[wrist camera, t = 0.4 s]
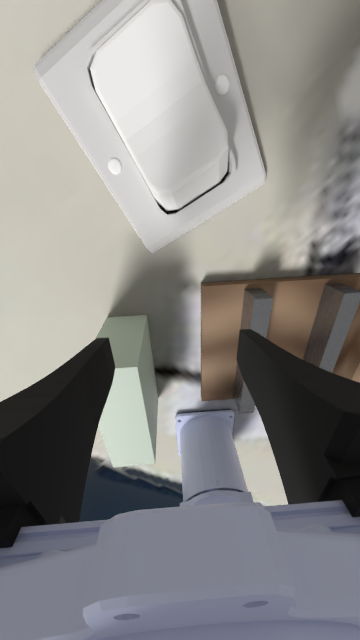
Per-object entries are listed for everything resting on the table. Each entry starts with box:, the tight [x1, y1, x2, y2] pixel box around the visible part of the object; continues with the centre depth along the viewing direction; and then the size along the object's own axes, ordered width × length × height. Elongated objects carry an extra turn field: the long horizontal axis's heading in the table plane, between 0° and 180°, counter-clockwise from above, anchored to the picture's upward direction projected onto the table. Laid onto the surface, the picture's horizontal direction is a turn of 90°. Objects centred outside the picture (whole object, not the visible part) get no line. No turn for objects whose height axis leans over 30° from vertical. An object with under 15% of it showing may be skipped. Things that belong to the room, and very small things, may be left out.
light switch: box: [33, 0, 266, 253], centre depth 14 cm, size 11×4×13 cm
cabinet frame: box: [201, 273, 360, 413], centre depth 22 cm, size 15×17×4 cm
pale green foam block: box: [96, 315, 158, 467], centre depth 21 cm, size 5×12×8 cm, turn 3°
